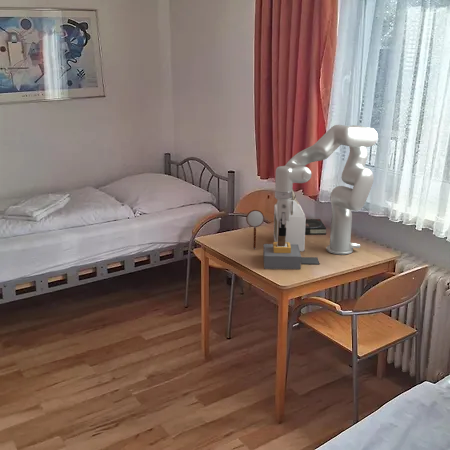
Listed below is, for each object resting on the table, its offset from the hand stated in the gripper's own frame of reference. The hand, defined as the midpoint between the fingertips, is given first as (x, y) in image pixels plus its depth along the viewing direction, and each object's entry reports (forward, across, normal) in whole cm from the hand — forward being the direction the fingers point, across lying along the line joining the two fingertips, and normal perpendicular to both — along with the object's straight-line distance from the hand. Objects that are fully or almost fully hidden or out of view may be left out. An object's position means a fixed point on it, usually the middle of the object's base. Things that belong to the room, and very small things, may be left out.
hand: (281, 234), depth 245 cm
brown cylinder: (+5, 0, 0) cm, 5 cm away
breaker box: (+14, 0, 0) cm, 14 cm away
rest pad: (+14, +2, -13) cm, 19 cm away
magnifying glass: (+14, +17, +12) cm, 25 cm away
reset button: (+11, 0, 0) cm, 11 cm away
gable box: (+14, +26, -5) cm, 30 cm away
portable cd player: (+14, +49, -17) cm, 54 cm away
